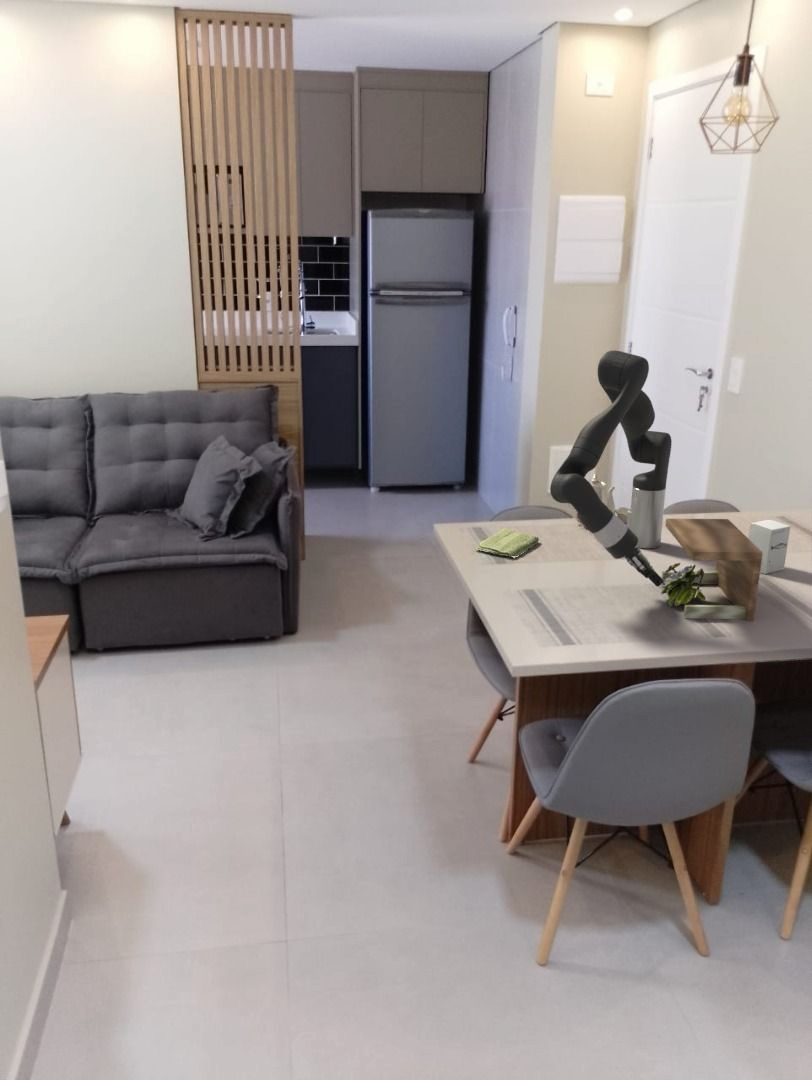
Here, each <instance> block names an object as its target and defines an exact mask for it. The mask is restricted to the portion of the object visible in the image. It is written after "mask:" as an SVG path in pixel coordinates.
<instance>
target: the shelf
mask: <svg viewBox="0 0 812 1080" xmlns="http://www.w3.org/2000/svg"><path fill="white" fill-rule="evenodd" d="M665 527H666V529H667V530H668V531H669V532H670V534H671V535H672V536H673V538H674V539H675V540H676V541H677V543H678V544H679V545H680V546H681V547H682V549H683V550H684V551H685V553H687V555H688V557H690V559H691V560H692V561H716V565H715V571H704V576H703V578H702V581H701V583H702V584H701V585H703V583H706V584H705V585H717V586H718V587H719V588H720V590H721V591H722V592H723V594H724V595H725V596H726V597H727V598H728V599H729V601H730V602H731V603H732V604H733V605H732V604H731V605H729V604H728V605H727V604H726V605H725V604H724V605H723V604H722V605H721V604H716V605H715V604H711V605H710V604H699V605H698V604H684V610H683V618H684V619H702V620H703V619H704V620H705V619H710V620H711V619H716V620H719V619H722V620H726V619H727V620H728V619H729V620H733V619H734V620H746V622H747V621H748V622H751V621H754V618H755V611H756V603H757V598H758V597H757V596H758V589H759V581H760V568H761V561H762V554H763V552H762V551H761V550H760V549H759V548H758V547H757V546H755V545H754V544H753V543H752V542H751V541H750V540H749V539H748V537H747V536H746V535H745V534H744V532H742V531H741V530H740V529H739V528H738V526H736V525H735V524H734V523H733V522H732V521H731V520H730V519H728V518H665ZM679 571H680V570H678V571H677V572H679ZM695 572H696V573H697V571H695ZM673 574H674V571H673V570H671V571H669V572H667V573H666V570H662V571H661V576H660V577H661V578H662V579H663V581H664V580H665V579H666V578H669V576H670V575H673ZM699 574H700V573H699ZM700 579H701V575H700V576H699V577H696V578H695V580H694V582H693V583H699V582H700ZM687 581H689V578H688V579H687Z"/></svg>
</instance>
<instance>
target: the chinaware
mask: <svg viewBox="0 0 812 1080" xmlns="http://www.w3.org/2000/svg"><path fill="white" fill-rule="evenodd" d="M587 481H588V482H589V483H590V484H591V485H592V487H593V488H594V490H595V491H596V493H597V494H598V496H599V498H600V500H601V501H602V502H603V503H604V504H605V500H604V499H605V498H604V489H605V486H606V485H607V484H606V483H605V482H604V481H602V480H601V479H599V478H598V476H597V474H594V475H593V477H592V478H590V480H587ZM615 489H616V487H615V486H612V487H610V488H609V489H608V490H607V495H606V498H607V500H606V501H607V503H606V504H605V505H606V506H607V507H608V508H609V509H610V510H611V511H612V513H614V514H615V515H616V516H617V517H619V518H620V519H621V520H622V521H623V522H624V524H625V525H626V524H627V513H628V511H630V510H631V508H629V507H625V506H623V507H618V509H616V505H615V501H614V500H615V499H614V496H613V491H614V490H615ZM567 505H568V507H569V509H571V510H573V509H574V512H576V513H575V515H574V518H575V520H576V521H577V522H578V524H579V525H580V526H579V525H578V526H579V527H581V526H583V527H585V526H584V525H583V524H582V523H581V521H580V520H579V518H578V512H577V511H576V509H575V508H574V507H572V506H570V505H571V504H570V503H567ZM583 527H582V528H583Z"/></svg>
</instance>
